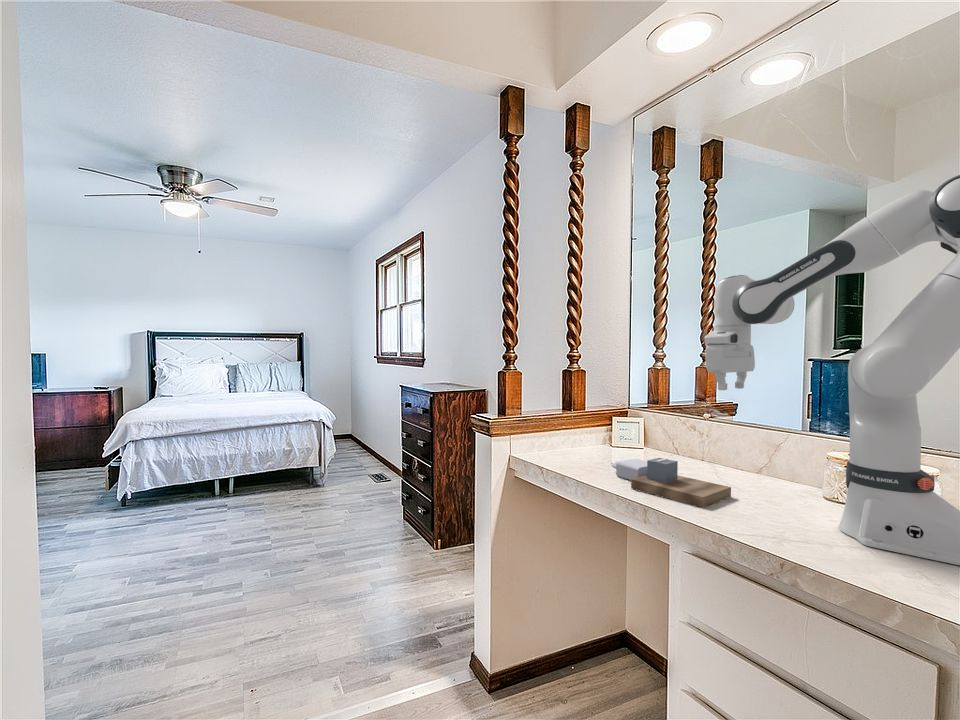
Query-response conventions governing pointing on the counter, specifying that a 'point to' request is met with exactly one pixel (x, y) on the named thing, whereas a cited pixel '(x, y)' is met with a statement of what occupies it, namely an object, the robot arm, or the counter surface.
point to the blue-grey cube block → (662, 470)
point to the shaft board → (684, 490)
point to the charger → (630, 468)
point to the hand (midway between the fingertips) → (731, 389)
